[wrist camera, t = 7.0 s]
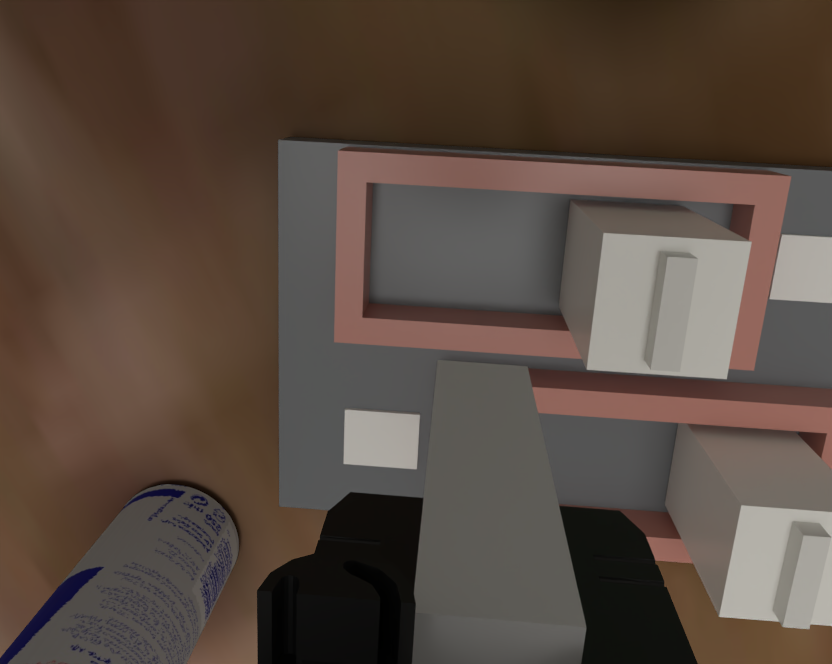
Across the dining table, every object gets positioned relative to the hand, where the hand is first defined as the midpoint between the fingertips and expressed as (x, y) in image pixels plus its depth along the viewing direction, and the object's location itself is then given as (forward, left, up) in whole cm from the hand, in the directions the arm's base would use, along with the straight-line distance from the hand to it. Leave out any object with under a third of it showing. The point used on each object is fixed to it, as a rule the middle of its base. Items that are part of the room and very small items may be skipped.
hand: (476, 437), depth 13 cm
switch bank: (+4, +5, -18) cm, 19 cm away
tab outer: (+8, +11, -16) cm, 21 cm away
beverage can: (+14, -12, -19) cm, 26 cm away
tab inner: (0, +5, -16) cm, 17 cm away
